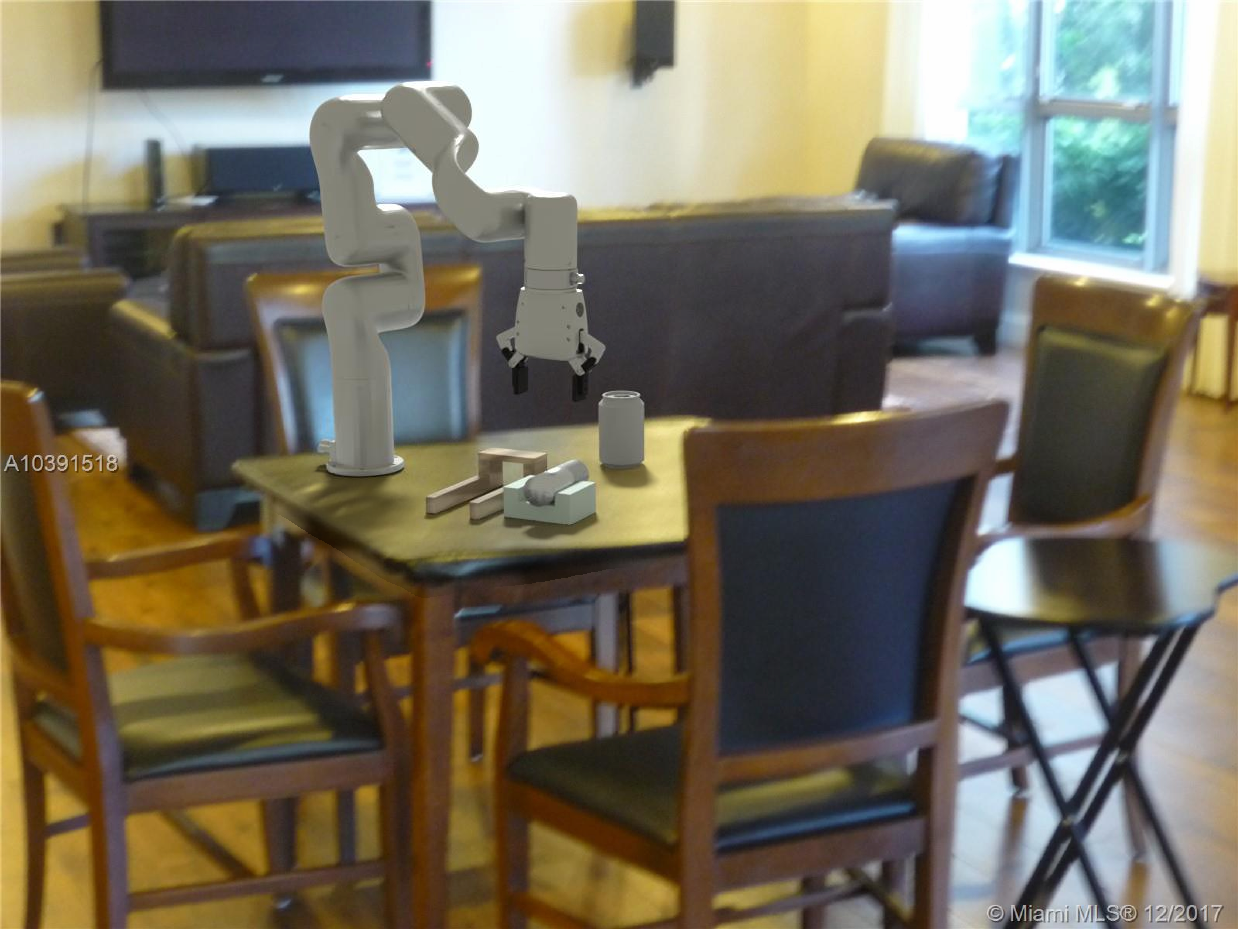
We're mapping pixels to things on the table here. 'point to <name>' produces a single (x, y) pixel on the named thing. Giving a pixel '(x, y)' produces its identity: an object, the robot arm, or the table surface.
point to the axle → (554, 482)
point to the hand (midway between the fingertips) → (549, 396)
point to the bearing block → (486, 482)
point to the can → (621, 429)
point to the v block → (551, 503)
